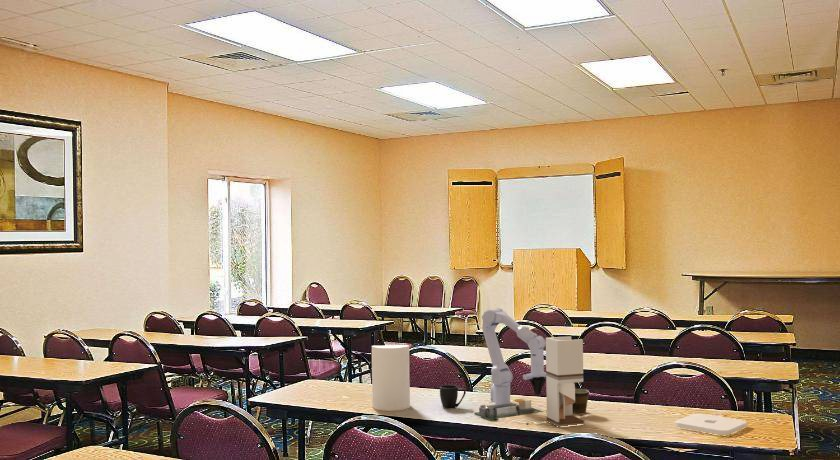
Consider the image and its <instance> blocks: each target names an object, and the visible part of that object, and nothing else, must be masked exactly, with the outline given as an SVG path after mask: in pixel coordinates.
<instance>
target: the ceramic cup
mask: <svg viewBox="0 0 840 460" xmlns="http://www.w3.org/2000/svg"><path fill="white" fill-rule="evenodd" d="M589 396H590V390H588V389H585V388H575V403H573V404H572V411H573V414H575V415H583V414H586V412H587V406H588V400H589Z"/></svg>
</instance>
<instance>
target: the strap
mask: <svg viewBox="0 0 840 460" xmlns="http://www.w3.org/2000/svg"><path fill="white" fill-rule="evenodd" d="M509 406H517V405H516V404H515V403H511V402H510V404H504V405H496V406H488V407H487V406H486V407H485V406H483V408H486V409H487V410H488V408H493V410H494V409H495V408H502V407H509Z"/></svg>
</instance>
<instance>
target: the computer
mask: <svg viewBox="0 0 840 460" xmlns="http://www.w3.org/2000/svg"><path fill="white" fill-rule="evenodd" d="M675 426H676V427H680V428H686V429H692V430H698V431H703V432H707V433H713V434H720V435H729V434H731V433H733V432H735V431H738V430H740V429H742V428H744V427H747V428H748V422H747V421H746V420H744V419H738V418H732V417H725V416H719V415H714V414H712V415H711V414H707V413H706V414H705V413H693V414H690V415H687V416H684V417H682V418H679V419H676V420H675V421H674V427H675Z"/></svg>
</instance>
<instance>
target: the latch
mask: <svg viewBox="0 0 840 460" xmlns="http://www.w3.org/2000/svg"><path fill="white" fill-rule="evenodd" d="M514 401H515V403H518V406H519V409H528V408H532V400H531V399H528V398H525V397H524V398H515V399H514ZM519 409H518V410H519Z"/></svg>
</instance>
